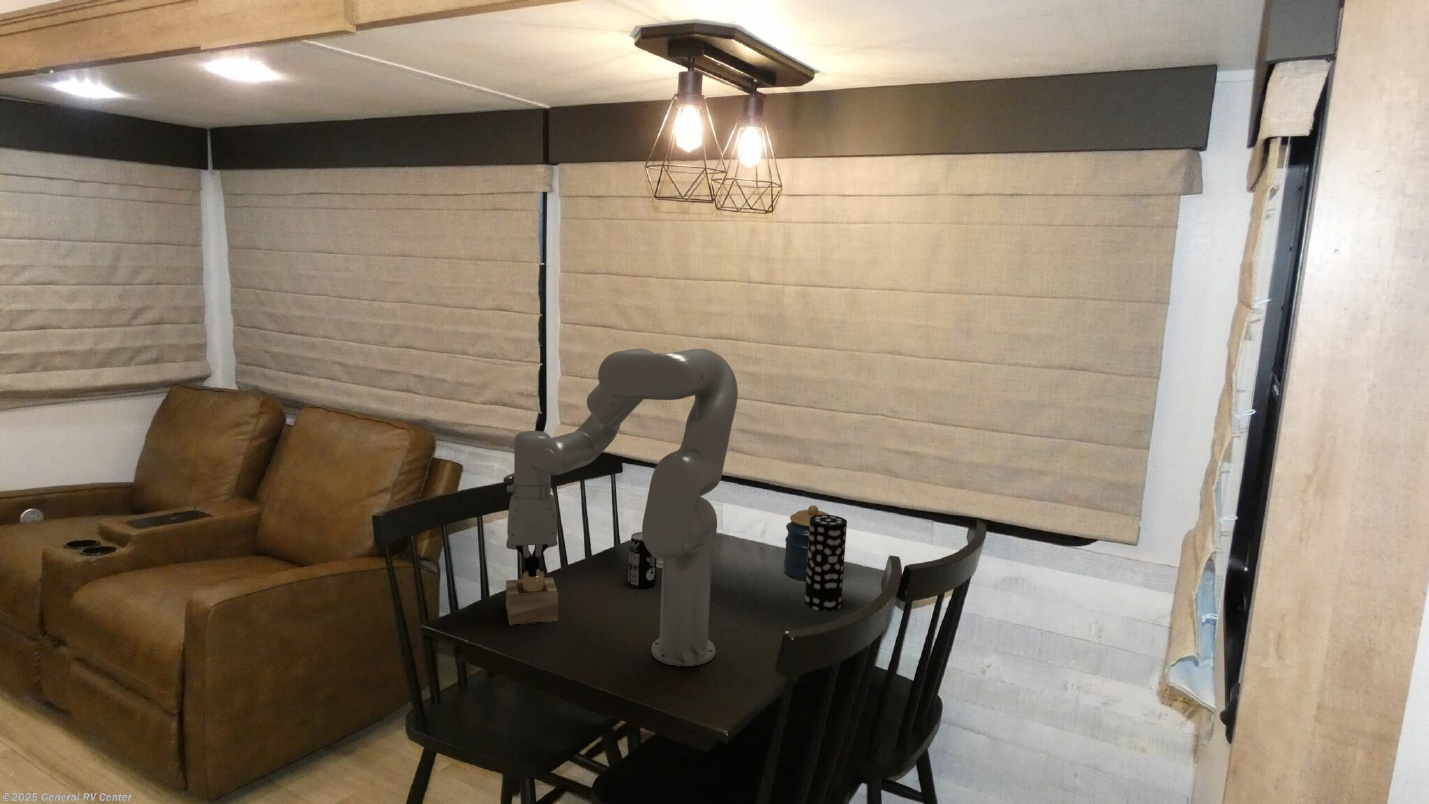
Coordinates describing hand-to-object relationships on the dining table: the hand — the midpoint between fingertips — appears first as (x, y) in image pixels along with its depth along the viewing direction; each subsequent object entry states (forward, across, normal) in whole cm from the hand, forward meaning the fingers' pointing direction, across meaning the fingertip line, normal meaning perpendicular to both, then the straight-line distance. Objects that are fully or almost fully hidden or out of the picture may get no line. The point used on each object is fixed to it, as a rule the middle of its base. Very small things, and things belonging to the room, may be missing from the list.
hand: (531, 573), depth 181 cm
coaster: (+10, +37, +25) cm, 46 cm away
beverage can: (+9, +27, +12) cm, 31 cm away
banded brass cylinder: (+8, 0, 0) cm, 8 cm away
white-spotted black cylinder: (+9, +65, -8) cm, 66 cm away
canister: (+9, +70, +11) cm, 71 cm away
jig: (+9, 0, 0) cm, 9 cm away
